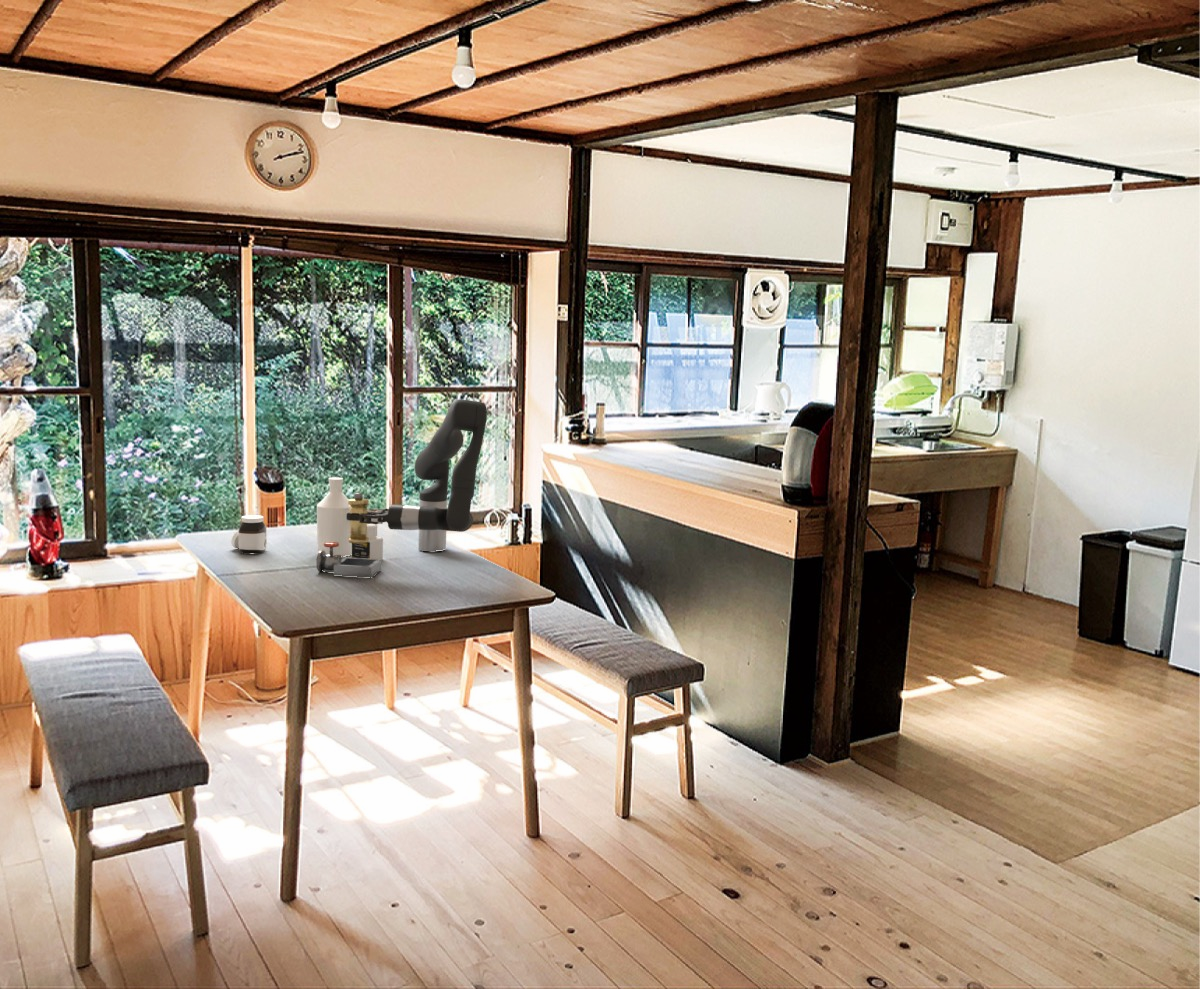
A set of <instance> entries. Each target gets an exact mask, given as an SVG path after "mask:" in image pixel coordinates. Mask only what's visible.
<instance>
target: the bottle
mask: <svg viewBox="0 0 1200 989" xmlns="http://www.w3.org/2000/svg"><path fill="white" fill-rule="evenodd" d="M328 483H329V492H328V493H327V494H326V495H325V497H323V499H322V500H321V501H319V502H318V503H317V504H316V534H317V535H316V537H317V538H316V540H317V543H316V544H317V546H316V548H317V550H316V551H317V553H319V551H320V550H321V551H325V552H326V554H330V547H325V546H324V543H325V542H338V543H339V546H338V547H333V554H334V555H341V556H345V555H351V554H352V543H350V542H348V538H349V537H350V520H347V513H350V505H349V504H348V500H349V499H350V498H348V496H346V495H345V494H344V492H343V483H344V478H343V477H335V476H333V477H328ZM351 556H352V555H351Z"/></svg>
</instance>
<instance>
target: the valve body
mask: <svg viewBox="0 0 1200 989" xmlns="http://www.w3.org/2000/svg"><path fill="white" fill-rule="evenodd" d="M363 495H364V494H363V492H354V498H348V499H349V500H348V504H349V505H350V513H367V509H368V505H369V504H370V500H369V499H368V498H364V496H363ZM364 519H366V517H364ZM348 542H350V543H367V542H369V538H368V537H367V523H359V521H351V520H350V537H349V538H348Z"/></svg>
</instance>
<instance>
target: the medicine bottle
mask: <svg viewBox="0 0 1200 989" xmlns="http://www.w3.org/2000/svg"><path fill="white" fill-rule="evenodd" d="M367 537H368V538H369V542H367V543H352V555H351V558H368V559H382V560H383V558H384V557H383V556H384V555H383V553H384V551H383V550H384V538H383V537H380V536H378V524H368V523H367Z"/></svg>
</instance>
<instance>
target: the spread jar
mask: <svg viewBox="0 0 1200 989" xmlns="http://www.w3.org/2000/svg"><path fill="white" fill-rule="evenodd" d="M240 519H241V523H240V526H239V528H238V530H237V531H236V532H235V533H234V534H233V536H231V540H230V541H231V542H230V543H231V546H232V547H233V548H235V549H236V548H239V549H238V550H239V552H241V553H242V552H243V553H242V554H244V553H260V554H263V553H265V551H266V550H267V540H268V538H267V537H268V534H267V533H268V532H267V526H266V524H265V522H264V519H265V518H264V516H263V515H258V514H247V515H243V516H241V518H240ZM262 552H263V553H262Z"/></svg>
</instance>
